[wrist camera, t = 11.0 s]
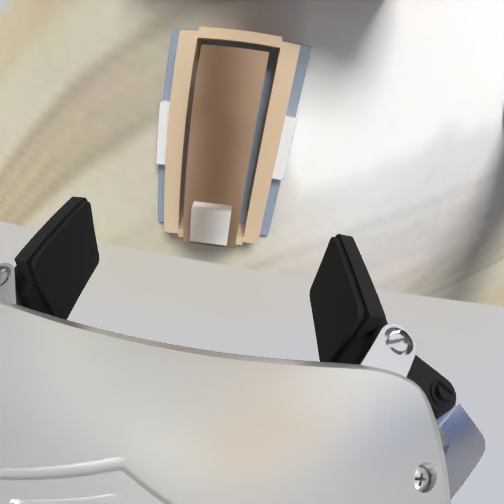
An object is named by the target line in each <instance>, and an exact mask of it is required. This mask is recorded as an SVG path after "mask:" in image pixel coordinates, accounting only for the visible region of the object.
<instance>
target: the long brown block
mask: <svg viewBox="0 0 504 504" xmlns="http://www.w3.org/2000/svg"><path fill="white" fill-rule="evenodd" d="M268 57H269V52H265V51H258V50H252V49H244V48H236V47H227V46H216V45H202V44H201V50H200V56H199V63H198V69H197V76H196V84H195V91H194V99H193V107H192V116H191V126H190V136H189V147H188V158H187V171H186V186H185V204H184V227H183V242H190V243H198V244H206V245H214V246H222V247H230V248H235V244H236V238H237V232H238V226H239V219H240V213H241V207H242V201H243V195H244V189H245V183H246V178H247V172H248V166H249V160H250V154H251V149H252V143H253V137H254V132H255V126H256V121H257V115H258V110H259V104H260V99H261V93H262V88H263V83H264V78H265V72H266V67H267V62H268Z"/></svg>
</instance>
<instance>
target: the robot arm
mask: <svg viewBox="0 0 504 504" xmlns="http://www.w3.org/2000/svg"><path fill="white" fill-rule="evenodd" d="M15 262H16V264H17V265H16V267H15V268H14V267H13V266H12V265H11V264H9V263H2V264H0V504H451V501H450V500H451V499H452V497H453V496H454V495H455V493H456V492H457V491H458V490H459V489H460V487H461V486H462V485H463V483H464V482H465V481H466V479H467V478H468V476H469V475H470V474H471V472H472V470H473V469H474V468H475V466H476V465H477V463H478V462H479V460H480V458H481V457H482V455H483V453H484V451H485V440H484V437H483V435H482V434H481V432H480V431H479V429H478V428H477V427H476V425H475V424H474V422H473V421H472V420H471V418H470V417H469V416H468V414H467V413H466V412H465V410H464V409H463V408H462V406H461V405H460V404H459V405H457V406H456V404H455V402H456V393H455V390H454V388H453V386H452V384H451V383H450V382H449V381H448V380H447V379H446V378H444V377H443V376H442V375H441V374H439V373H438V372H437V371H435V370H434V369H433V368H432V367H430V366H429V365H428V364H426V363H425V362H424V361H422V360H421V359H420V358H419V357H417V356H416V355H415V354H416V351H417V344H416V341H415V339H414V336H413V335H412V334H411V333H410V332H409V331H408V330H407V329H406V328H404V327H403V326H401V325H398V324H388V323H387V321H386V318H385V314H384V311H383V308H382V306H381V303H380V300H379V298H378V295H377V293H376V290H375V288H374V285H373V283H372V280H371V278H370V276H369V273H368V271H367V268H366V266H365V264H364V261H363V259H362V257H361V254H360V252H359V250H358V248H357V246H356V243H355V241H354V239H353V237H351V236H346V235H341V234H337V235H336V237H332V238H331V239H330V242H329V244H328V247H327V249H326V252H325V254H324V257H323V260H322V262H321V264H320V267H319V269H318V272H317V274H316V277H315V279H314V282H313V284H312V286H311V289H310V302H311V307H312V313H313V319H314V326H315V332H316V338H317V345H318V352H319V358H320V362H315V361H301V360H289V359H276V358H264V357H255V356H246V355H237V354H229V353H222V352H215V351H208V350H201V349H195V348H189V347H183V346H177V345H171V344H166V343H161V342H156V341H150V340H146V339H141V338H136V337H132V336H127V335H123V334H118V333H114V332H110V331H105V330H102V329H97V328H94V327H90V326H86V325H82V324H79V323H75V322H72V321H68V320H67V318H68V316H69V314H70V312H71V310H72V309H73V307H74V305H75V303H76V301H77V299H78V297H79V296H80V294H81V292H82V290H83V289H84V287H85V285H86V284H87V282H88V280H89V278H90V277H91V275H92V273H93V272H94V270H95V268H96V267H97V265H98V262H99V253H98V248H97V242H96V237H95V231H94V225H93V218H92V211H91V205H90V203H89V202H88V201H87V199H86V198H82V197H72V198H71V199H70V200H68V201H67V202H66V203H65V204H64V205H63V206H62V207H61V208H60V209H59V210H58V211H57V212H56V213H55V214H54V215H53V216H52V217H51V218H50V219H49V220H48V221H47V223H46V224H45V225H44V226H43V227H42V228H41V229H40V230H39V231H38V232H37V233H36V234H35V235H34V237H33V238H32V239H31V240H30V241H29V243H27V245H26V246H25V247H24V248H23V249H22V250H21V252H20V253H19V254H18V255H17V257H16V258H15Z"/></svg>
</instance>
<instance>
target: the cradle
mask: <svg viewBox="0 0 504 504" xmlns="http://www.w3.org/2000/svg"><path fill="white" fill-rule="evenodd" d="M282 38H283V37H280V36H275V35H270V34H264V33H258V32H251V31H244V30H235V29H226V28H214V27H199V30H173V34H172V40H171V46H170V52H169V59H168V66H167V74H166V82H165V91H164V101H162V102H160V112H159V124H158V140H157V161H156V164H159V187H158V222H164V232H170V233H178V237H183V227H184V204H185V186H186V171H187V158H188V147H189V136H190V126H191V116H192V107H193V99H194V91H195V84H196V76H197V69H198V63H199V56H200V50H201V44H202V45H216V46H227V47H236V48H244V49H252V50H258V51H265V52H269V57H268V62H267V67H266V72H265V78H264V83H263V88H262V93H261V99H260V104H259V110H258V115H257V121H256V126H255V132H254V137H253V143H252V149H251V154H250V160H249V166H248V172H247V178H246V183H245V189H244V195H243V201H242V207H241V213H240V219H239V226H238V232H237V238H236V245H242V243H243V242H246V243H254V244H258V240H259V235H266V236H268V232H269V228H270V224H271V220H272V216H273V211H274V207H275V203H276V199H277V194H278V190H279V186H280V182H281V180H283V177H284V173H285V169H286V165H287V160H288V156H289V152H290V147H291V143H292V139H293V135H294V130H295V126H296V121H297V119H296V118H295V116H296V112H297V107H298V103H299V99H300V94H301V90H302V85H303V81H304V76H305V71H306V67H307V62H308V58H309V53H310V48H311V47H308V46H304V45H300V44H296V43H291V42H287V41H282Z"/></svg>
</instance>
